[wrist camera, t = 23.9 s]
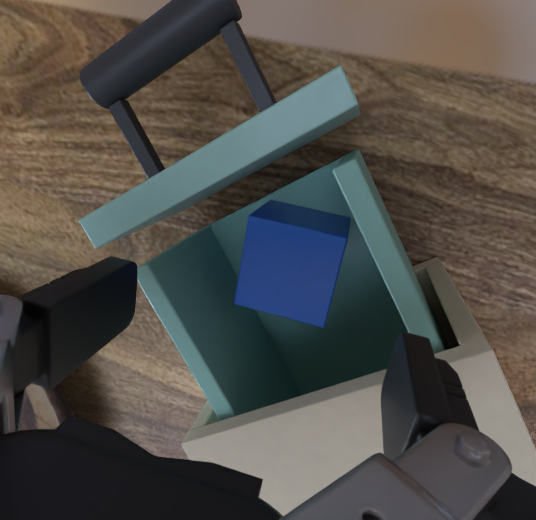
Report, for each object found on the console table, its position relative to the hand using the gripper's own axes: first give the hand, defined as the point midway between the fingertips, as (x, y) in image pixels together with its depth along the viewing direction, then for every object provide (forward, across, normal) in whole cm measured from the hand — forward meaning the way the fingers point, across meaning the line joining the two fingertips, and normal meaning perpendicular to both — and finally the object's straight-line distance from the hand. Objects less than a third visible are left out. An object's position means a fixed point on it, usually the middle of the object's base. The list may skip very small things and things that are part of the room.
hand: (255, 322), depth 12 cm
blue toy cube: (+9, 0, 0) cm, 9 cm away
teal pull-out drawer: (+10, 0, 0) cm, 10 cm away
